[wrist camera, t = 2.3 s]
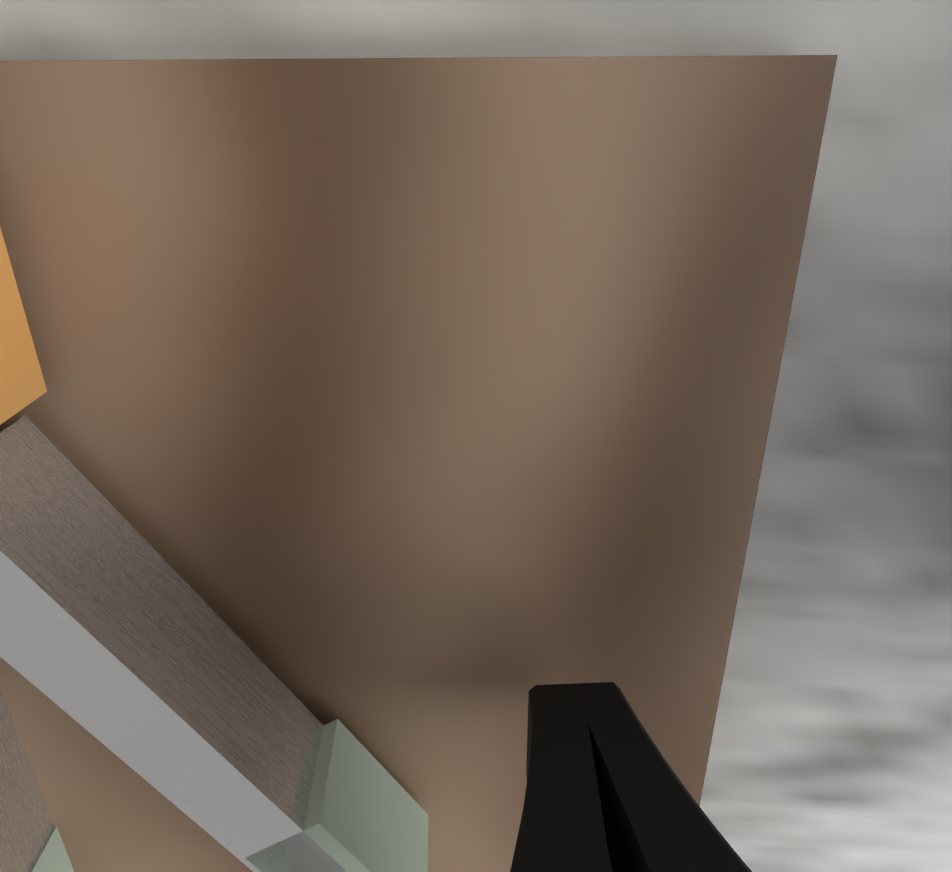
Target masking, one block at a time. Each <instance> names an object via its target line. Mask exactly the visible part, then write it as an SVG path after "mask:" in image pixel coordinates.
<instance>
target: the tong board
mask: <svg viewBox="0 0 952 872" xmlns="http://www.w3.org/2000/svg"><path fill="white" fill-rule="evenodd" d="M836 60H837V55H797V56H652V57H507V58H363V59H218V60H73V61H0V228H1V231H2V235H3V238H4V242H5V245H6V249H7V252H8V256H9V259H10V263H11V266H12V270H13V273H14V277H15V280H16V284H17V287H18V291H19V294H20V298H21V301H22V305H23V308H24V312H25V315H26V319H27V322H28V326H29V329H30V333H31V336H32V340H33V343H34V347H35V350H36V354H37V357H38V361H39V364H40V368H41V371H42V375H43V378H44V382H45V385H46V389H47V392H46V393H44V394H43V395H41V396H40V397H39V398H37V399H36V400H34V401H33V402H32V403H30V404H29V405H27V406H26V407H25V408H23V409H22V410H20V411H19V412H18V413H16V414H15V415H13V416H12V417H11V418H9V419H8V420H6V421H5V422H4V423H2V424H1V425H0V431H1V430H3V429H4V428H6V427H7V426H9V425H10V424H12V423H13V422H15V421H17V420H18V419H20V418H21V417H23V416H24V415H26V416H27V417H28V418H29V419H30V420H31V421H32V422H33V423H34V425H35V426H36V427H37V428H38V429H39V430H40V431H41V432H42V433H43V434H44V435H45V436H46V437H47V438H48V439H49V440H50V441H51V442H52V443H53V444H54V445H55V446H56V447H57V448H58V450H59V451H60V452H61V453H62V454H63V455H64V456H65V457H66V458H67V459H68V460H69V461H70V462H71V463H72V464H73V465H74V466H75V467H76V468H77V469H78V470H79V471H80V472H81V473H82V475H83V476H84V477H85V478H86V479H87V480H88V481H89V482H90V483H91V484H92V485H93V486H94V487H95V488H96V489H97V490H98V491H99V492H100V493H101V494H102V495H103V496H104V497H105V498H106V499H107V501H108V502H109V503H110V504H111V505H112V506H113V507H114V508H115V509H116V510H117V511H118V512H119V513H120V514H121V515H122V516H123V517H124V518H125V519H126V520H127V521H128V522H129V523H130V524H131V526H132V527H133V528H134V529H135V530H136V531H137V532H138V533H139V534H140V535H141V536H142V537H143V538H144V539H145V540H146V541H147V542H148V543H149V544H150V545H151V546H152V547H153V548H154V549H155V550H156V552H157V553H158V554H159V555H160V556H161V557H162V558H163V559H164V560H165V561H166V562H167V563H168V564H169V565H170V566H171V567H172V568H173V569H174V570H175V571H176V572H177V573H178V574H179V575H180V577H181V578H182V579H183V580H184V581H185V582H186V583H187V584H188V585H189V586H190V587H191V588H192V589H193V590H194V591H195V592H196V593H197V594H198V595H199V596H200V597H201V598H202V599H203V600H204V601H205V603H206V604H207V605H208V606H209V607H210V608H211V609H212V610H213V611H214V612H215V613H216V614H217V615H218V616H219V617H220V618H221V619H222V620H223V621H224V622H225V623H226V624H227V625H228V626H229V628H230V629H231V630H232V631H233V632H234V633H235V634H236V635H237V636H238V637H239V638H240V639H241V640H242V641H243V642H244V643H245V644H246V645H247V646H248V647H249V648H250V649H251V650H252V651H253V652H254V654H255V655H256V656H257V657H258V658H259V659H260V660H261V661H262V662H263V663H264V664H265V665H266V666H267V667H268V668H269V669H270V670H271V671H272V672H273V673H274V674H275V675H276V676H277V677H278V679H279V680H280V681H281V682H282V683H283V684H284V685H285V686H286V687H287V688H288V689H289V690H290V691H291V692H292V693H293V694H294V695H295V696H296V697H297V698H298V699H299V700H300V701H301V702H302V703H303V705H304V706H305V707H306V708H307V709H308V710H309V711H310V712H311V713H312V714H313V715H314V716H315V717H316V718H317V719H318V720H319V721H320V722H321V723H322V724H323V725H326V724H328V723H330V722H332V721H334V720H336V719H338V720H339V721H340V722H341V723H342V724H343V725H344V726H345V727H346V728H347V729H348V730H349V731H350V732H351V733H352V734H353V735H354V737H355V738H356V739H357V740H358V741H359V742H360V743H361V744H362V745H363V746H364V747H365V748H366V749H367V750H368V751H369V752H370V754H371V755H372V756H373V757H374V758H375V759H376V760H377V761H378V762H379V763H380V764H381V765H382V766H383V767H384V768H385V769H386V770H387V772H388V773H389V774H390V775H391V776H392V777H393V778H394V779H395V780H396V781H397V782H398V783H399V784H400V785H401V786H402V787H403V789H404V790H405V791H406V792H407V793H408V794H409V795H410V796H411V797H412V798H413V799H414V800H415V801H416V802H417V803H418V804H419V805H420V807H421V808H422V809H423V810H424V811H425V812H426V813H427V814H428V815H429V818H428V866H427V872H510V869H511V865H512V860H513V856H514V851H515V846H516V841H517V837H518V832H519V827H520V822H521V817H522V812H523V806H524V800H525V792H526V785H527V776H526V763H527V730H528V696H529V690H530V689H532V688H533V687H534V686H535V685H547V684H572V683H598V682H614V683H615V684H616V685H617V686H618V687H619V688H620V689H621V691H622V693H623V695H624V696H625V698H626V700H627V701H628V703H629V705H630V706H631V708H632V710H633V711H634V713H635V714H636V716H637V718H638V719H639V721H640V722H641V724H642V726H643V727H644V729H645V730H646V732H647V733H648V735H649V736H650V738H651V739H652V741H653V742H654V744H655V745H656V747H657V748H658V750H659V751H660V753H661V754H662V756H663V757H664V759H665V760H666V761H667V763H668V764H669V766H670V767H671V769H672V770H673V771H674V773H675V774H676V775H677V777H678V778H679V780H680V781H681V782H682V784H683V785H684V786H685V788H686V789H687V790H688V792H689V793H690V794H691V796H692V797H693V799H694V800H695V801H696V803H697V804H698V805H700V799H701V794H702V788H703V783H704V777H705V772H706V767H707V761H708V756H709V750H710V745H711V739H712V734H713V729H714V723H715V718H716V712H717V707H718V701H719V696H720V691H721V685H722V680H723V674H724V669H725V663H726V658H727V652H728V647H729V642H730V636H731V631H732V625H733V620H734V614H735V609H736V604H737V598H738V593H739V587H740V582H741V576H742V571H743V565H744V560H745V555H746V549H747V544H748V538H749V533H750V527H751V522H752V517H753V511H754V506H755V500H756V495H757V489H758V484H759V478H760V473H761V468H762V462H763V457H764V451H765V446H766V440H767V435H768V430H769V424H770V419H771V413H772V408H773V402H774V397H775V392H776V386H777V381H778V375H779V370H780V364H781V359H782V353H783V348H784V343H785V337H786V332H787V326H788V321H789V315H790V310H791V305H792V299H793V294H794V288H795V283H796V277H797V272H798V266H799V261H800V256H801V250H802V245H803V239H804V234H805V228H806V223H807V218H808V212H809V207H810V201H811V196H812V190H813V185H814V180H815V174H816V169H817V163H818V158H819V152H820V147H821V141H822V136H823V131H824V125H825V120H826V114H827V109H828V103H829V98H830V93H831V87H832V82H833V76H834V71H835V65H836ZM0 872H253V871H252V870H251V869H249V868H248V867H247V866H246V865H245V864H244V863H242V862H241V861H240V860H239V859H238V858H236V857H235V856H234V855H233V854H232V853H231V852H229V851H228V850H227V849H226V848H225V847H224V846H222V845H221V844H220V843H219V842H218V841H216V840H215V839H214V838H213V837H212V836H211V835H209V834H208V833H207V832H206V831H205V830H204V829H202V828H201V827H200V826H199V825H198V824H197V823H195V822H194V821H193V820H192V819H191V818H189V817H188V816H187V815H186V814H185V813H184V812H182V811H181V810H180V809H179V808H178V807H177V806H175V805H174V804H173V803H172V802H171V801H169V800H168V799H167V798H166V797H165V796H164V795H162V794H161V793H160V792H159V791H158V790H157V789H155V788H154V787H153V786H152V785H151V784H149V783H148V782H147V781H146V780H145V779H144V778H142V777H141V776H140V775H139V774H138V773H137V772H135V771H134V770H133V769H132V768H131V767H129V766H128V765H127V764H126V763H125V762H124V761H122V760H121V759H120V758H119V757H118V756H117V755H115V754H114V753H113V752H112V751H111V750H109V749H108V748H107V747H106V746H105V745H104V744H102V743H101V742H100V741H99V740H98V739H97V738H95V737H94V736H93V735H92V734H91V733H89V732H88V731H87V730H86V729H85V728H84V727H82V726H81V725H80V724H79V723H78V722H77V721H75V720H74V719H73V718H72V717H71V716H69V715H68V714H67V713H66V712H65V711H64V710H62V709H61V708H60V707H59V706H58V705H57V704H55V703H54V702H53V701H52V700H51V699H49V698H48V697H47V696H46V695H45V694H44V693H42V692H41V691H40V690H39V689H38V688H37V687H35V686H34V685H33V684H32V683H31V682H30V681H28V680H27V679H26V678H25V677H24V676H22V675H21V674H20V673H19V672H18V671H17V670H15V669H14V668H13V667H12V666H11V665H10V664H8V663H7V662H6V661H5V660H4V659H2V658H1V657H0Z"/></svg>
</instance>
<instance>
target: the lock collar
mask: <svg viewBox="0 0 952 872" xmlns="http://www.w3.org/2000/svg"><path fill="white" fill-rule="evenodd" d="M46 392H47V389H46V385H45V382H44V378H43V375H42V371H41V368H40V364H39V361H38V357H37V354H36V350H35V347H34V343H33V340H32V336H31V333H30V329H29V326H28V322H27V319H26V315H25V312H24V308H23V305H22V301H21V298H20V294H19V291H18V287H17V284H16V280H15V277H14V273H13V270H12V266H11V263H10V259H9V256H8V252H7V249H6V245H5V242H4V238H3V235H2V231H1V228H0V425H1V424H2V423H4V422H5V421H6V420H8V419H9V418H11V417H12V416H13V415H15V414H16V413H18V412H19V411H20V410H22V409H23V408H25V407H26V406H27V405H29V404H30V403H32V402H33V401H34V400H36V399H37V398H39V397H40V396H41V395H43V394H44V393H46Z"/></svg>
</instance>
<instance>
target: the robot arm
mask: <svg viewBox="0 0 952 872" xmlns="http://www.w3.org/2000/svg"><path fill="white" fill-rule="evenodd" d="M526 776H527V785H526V792H525V800H524V806H523V812H522V817H521V822H520V827H519V832H518V837H517V841H516V846H515V851H514V856H513V860H512V865H511V869H510V872H752V871H751V870H750V869H749V868H748V867H747V865H746V864H745V863H744V862H743V861H742V859H741V858H740V857H739V856H738V855H737V853H736V852H735V851H734V850H733V848H732V847H731V846H730V845H729V843H728V842H727V841H726V840H725V839H724V837H723V836H722V835H721V834H720V832H719V831H718V830H717V829H716V827H715V826H714V825H713V824H712V822H711V821H710V820H709V818H708V817H707V816H706V815H705V813H704V812H703V811H702V809H701V808H700V807H699V805H698V804H697V803H696V801H695V800H694V799H693V797H692V796H691V794H690V793H689V792H688V790H687V789H686V788H685V786H684V785H683V784H682V782H681V781H680V780H679V778H678V777H677V775H676V774H675V773H674V771H673V770H672V769H671V767H670V766H669V764H668V763H667V761H666V760H665V759H664V757H663V756H662V754H661V753H660V751H659V750H658V748H657V747H656V745H655V744H654V742H653V741H652V739H651V738H650V736H649V735H648V733H647V732H646V730H645V729H644V727H643V726H642V724H641V722H640V721H639V719H638V718H637V716H636V714H635V713H634V711H633V710H632V708H631V706H630V705H629V703H628V701H627V700H626V698H625V696H624V695H623V693H622V691H621V689H620V688H619V687H618V686H617V685H616V684H615V683H614V682H598V683H572V684H547V685H535V686H534V687H533V688H532V689H530V690H529V696H528V730H527V763H526Z"/></svg>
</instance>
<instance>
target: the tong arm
mask: <svg viewBox="0 0 952 872" xmlns="http://www.w3.org/2000/svg"><path fill="white" fill-rule="evenodd" d="M0 657H1V658H2V659H4V660H5V661H6V662H7V663H8V664H10V665H11V666H12V667H13V668H14V669H15V670H17V671H18V672H19V673H20V674H21V675H22V676H24V677H25V678H26V679H27V680H28V681H30V682H31V683H32V684H33V685H34V686H35V687H37V688H38V689H39V690H40V691H41V692H42V693H44V694H45V695H46V696H47V697H48V698H49V699H51V700H52V701H53V702H54V703H55V704H57V705H58V706H59V707H60V708H61V709H62V710H64V711H65V712H66V713H67V714H68V715H69V716H71V717H72V718H73V719H74V720H75V721H77V722H78V723H79V724H80V725H81V726H82V727H84V728H85V729H86V730H87V731H88V732H89V733H91V734H92V735H93V736H94V737H95V738H97V739H98V740H99V741H100V742H101V743H102V744H104V745H105V746H106V747H107V748H108V749H109V750H111V751H112V752H113V753H114V754H115V755H117V756H118V757H119V758H120V759H121V760H122V761H124V762H125V763H126V764H127V765H128V766H129V767H131V768H132V769H133V770H134V771H135V772H137V773H138V774H139V775H140V776H141V777H142V778H144V779H145V780H146V781H147V782H148V783H149V784H151V785H152V786H153V787H154V788H155V789H157V790H158V791H159V792H160V793H161V794H162V795H164V796H165V797H166V798H167V799H168V800H169V801H171V802H172V803H173V804H174V805H175V806H177V807H178V808H179V809H180V810H181V811H182V812H184V813H185V814H186V815H187V816H188V817H189V818H191V819H192V820H193V821H194V822H195V823H197V824H198V825H199V826H200V827H201V828H202V829H204V830H205V831H206V832H207V833H208V834H209V835H211V836H212V837H213V838H214V839H215V840H216V841H218V842H219V843H220V844H221V845H222V846H224V847H225V848H226V849H227V850H228V851H229V852H231V853H232V854H233V855H234V856H235V857H236V858H238V859H239V860H240V861H241V862H242V863H244V864H245V865H246V866H247V867H248V868H249V869H251V870H252V871H253V872H427V866H428V818H429V815H428V814H427V813H426V812H425V811H424V810H423V809H422V808H421V807H420V805H419V804H418V803H417V802H416V801H415V800H414V799H413V798H412V797H411V796H410V795H409V794H408V793H407V792H406V791H405V790H404V789H403V787H402V786H401V785H400V784H399V783H398V782H397V781H396V780H395V779H394V778H393V777H392V776H391V775H390V774H389V773H388V772H387V770H386V769H385V768H384V767H383V766H382V765H381V764H380V763H379V762H378V761H377V760H376V759H375V758H374V757H373V756H372V755H371V754H370V752H369V751H368V750H367V749H366V748H365V747H364V746H363V745H362V744H361V743H360V742H359V741H358V740H357V739H356V738H355V737H354V735H353V734H352V733H351V732H350V731H349V730H348V729H347V728H346V727H345V726H344V725H343V724H342V723H341V722H340V721H339V720H338V719H336V720H334V721H332V722H330V723H328V724H326V725H323V724H322V723H321V722H320V721H319V720H318V719H317V718H316V717H315V716H314V715H313V714H312V713H311V712H310V711H309V710H308V709H307V708H306V707H305V706H304V705H303V703H302V702H301V701H300V700H299V699H298V698H297V697H296V696H295V695H294V694H293V693H292V692H291V691H290V690H289V689H288V688H287V687H286V686H285V685H284V684H283V683H282V682H281V681H280V680H279V679H278V677H277V676H276V675H275V674H274V673H273V672H272V671H271V670H270V669H269V668H268V667H267V666H266V665H265V664H264V663H263V662H262V661H261V660H260V659H259V658H258V657H257V656H256V655H255V654H254V652H253V651H252V650H251V649H250V648H249V647H248V646H247V645H246V644H245V643H244V642H243V641H242V640H241V639H240V638H239V637H238V636H237V635H236V634H235V633H234V632H233V631H232V630H231V629H230V628H229V626H228V625H227V624H226V623H225V622H224V621H223V620H222V619H221V618H220V617H219V616H218V615H217V614H216V613H215V612H214V611H213V610H212V609H211V608H210V607H209V606H208V605H207V604H206V603H205V601H204V600H203V599H202V598H201V597H200V596H199V595H198V594H197V593H196V592H195V591H194V590H193V589H192V588H191V587H190V586H189V585H188V584H187V583H186V582H185V581H184V580H183V579H182V578H181V577H180V575H179V574H178V573H177V572H176V571H175V570H174V569H173V568H172V567H171V566H170V565H169V564H168V563H167V562H166V561H165V560H164V559H163V558H162V557H161V556H160V555H159V554H158V553H157V552H156V550H155V549H154V548H153V547H152V546H151V545H150V544H149V543H148V542H147V541H146V540H145V539H144V538H143V537H142V536H141V535H140V534H139V533H138V532H137V531H136V530H135V529H134V528H133V527H132V526H131V524H130V523H129V522H128V521H127V520H126V519H125V518H124V517H123V516H122V515H121V514H120V513H119V512H118V511H117V510H116V509H115V508H114V507H113V506H112V505H111V504H110V503H109V502H108V501H107V499H106V498H105V497H104V496H103V495H102V494H101V493H100V492H99V491H98V490H97V489H96V488H95V487H94V486H93V485H92V484H91V483H90V482H89V481H88V480H87V479H86V478H85V477H84V476H83V475H82V473H81V472H80V471H79V470H78V469H77V468H76V467H75V466H74V465H73V464H72V463H71V462H70V461H69V460H68V459H67V458H66V457H65V456H64V455H63V454H62V453H61V452H60V451H59V450H58V448H57V447H56V446H55V445H54V444H53V443H52V442H51V441H50V440H49V439H48V438H47V437H46V436H45V435H44V434H43V433H42V432H41V431H40V430H39V429H38V428H37V427H36V426H35V425H34V423H33V422H32V421H31V420H30V419H29V418H28V417H27V416H26V415H24V416H23V417H21V418H20V419H18V420H17V421H15V422H13V423H12V424H10V425H9V426H7V427H6V428H4V429H3V430H1V431H0Z"/></svg>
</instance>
